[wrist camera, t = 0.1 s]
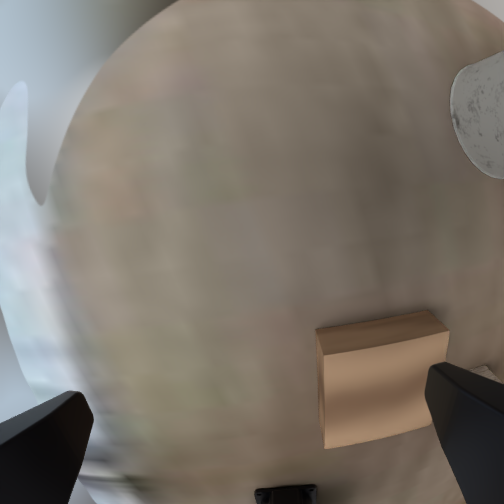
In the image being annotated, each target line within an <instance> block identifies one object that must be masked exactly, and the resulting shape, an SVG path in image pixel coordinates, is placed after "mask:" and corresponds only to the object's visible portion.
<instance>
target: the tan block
mask: <svg viewBox="0 0 504 504" xmlns="http://www.w3.org/2000/svg"><path fill="white" fill-rule="evenodd" d="M315 331H316V349H317V372H318V402H319V422H320V428H321V433H322V438H323V443H324V448H325V449H329V448H335V447H341V446H347V445H352V444H357V443H362V442H367V441H371V440H376V439H380V438H385V437H389V436H393V435H397V434H400V433H404V432H408V431H411V430H415V429H418V428H422V427H425V426H428V425H431V422H432V417H431V414H430V411H429V409H428V406H427V403H426V400H425V395H424V391H425V386H426V380H427V375H428V370H429V367H430V366H431V365H433V364H436V363H440V362H445V359H446V353H447V347H448V340H449V333H450V330H449V329H448V328H447V327H446V326H445V325H443V324H442V323H441V322H440V321H439V320H438V319H437V318H436V317H435V316H434V315H432V314H431V313H430V312H429V311H428V310H426V311H421V312H416V313H411V314H406V315H401V316H395V317H390V318H384V319H379V320H373V321H367V322H361V323H355V324H349V325H342V326H336V327H329V328H322V329H315Z"/></svg>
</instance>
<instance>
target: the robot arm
mask: <svg viewBox="0 0 504 504" xmlns="http://www.w3.org/2000/svg"><path fill="white" fill-rule="evenodd" d="M424 395H425V400H426V403H427V406H428V409H429V411H430V414H431V417H432V420H433V423H434V426H435V429H436V432H437V435H438V438H439V441H440V443H441V446H442V448H443V451H444V453H445V455H446V457H447V459H448V462H449V464H450V466H451V468H452V470H453V473H454V475H455V477H456V480H457V482H458V484H459V487H460V489H461V491H462V494H463V496H464V498H465V501H466V503H467V504H504V384H502V383H500V382H497V381H494V380H492V379H489V378H486V377H484V376H481V375H478V374H476V373H473V372H471V371H468V370H465V369H463V368H460V367H458V366H455V365H452V364H450V363H447V362H440V363H436V364H433V365H431V366H430V367H429V370H428V375H427V380H426V386H425V391H424ZM93 422H94V418H93V414H92V411H91V409H90V407H89V405H88V403H87V401H86V399H85V397H84V395H83V394H82V393H81V392H78V391H67V392H65V393H63V394H61V395H58V396H56V397H54V398H52V399H50V400H48V401H46V402H44V403H42V404H40V405H38V406H36V407H34V408H32V409H30V410H28V411H25V412H24V413H21V414H19V415H17V416H15V417H13V418H11V419H9V420H6V421H4V422H2V423H0V504H68V502H69V499H70V496H71V493H72V491H73V488H74V485H75V482H76V480H77V477H78V474H79V472H80V469H81V466H82V462H83V459H84V455H85V451H86V448H87V444H88V440H89V437H90V433H91V429H92V426H93ZM255 499H256V503H257V504H316V486H315V485H308V486H300V487H290V488H278V489H262V490H256V491H255Z"/></svg>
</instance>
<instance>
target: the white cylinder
mask: <svg viewBox="0 0 504 504" xmlns="http://www.w3.org/2000/svg"><path fill="white" fill-rule="evenodd" d="M450 114H451V118H452V123H453V128H454V130H455V133H456V136H457V138H458V141H459V143H460V145H461V147H462V149H463V150H464V152H465V154H466V155H467V157H468V158H469V159H470V161H471V162H472V163H473V164H474V165H475V166H476V167H477V168H478V169H479V170H480V171H481V172H483V173H485V174H486V175H488V176H490V177H493V178H498V179H504V51H501V52H499V53H497V54H494V55H492V56H490V57H488V58H486V59H483V60H481V61H479V62H477V63H475V64H471V65H467V66H466V67H464V68H463V69H461V70H460V71H459V73H458V74H457V76H456V77H455V79H454V82H453V84H452V87H451V93H450Z"/></svg>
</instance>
